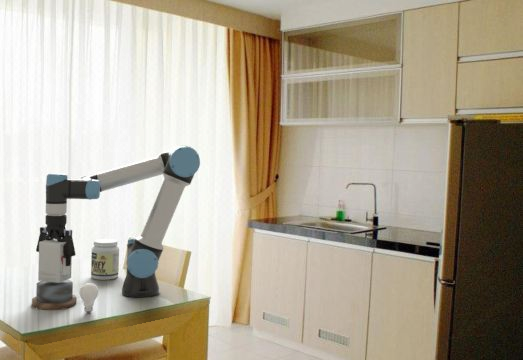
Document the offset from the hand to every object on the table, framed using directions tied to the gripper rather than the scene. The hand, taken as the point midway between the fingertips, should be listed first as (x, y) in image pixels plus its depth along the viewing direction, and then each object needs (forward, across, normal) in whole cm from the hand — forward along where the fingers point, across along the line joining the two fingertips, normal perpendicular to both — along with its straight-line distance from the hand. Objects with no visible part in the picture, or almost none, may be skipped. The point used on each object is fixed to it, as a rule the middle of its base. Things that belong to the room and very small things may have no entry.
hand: (55, 272), depth 218 cm
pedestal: (+12, 0, 0) cm, 12 cm away
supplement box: (+3, 0, 0) cm, 3 cm away
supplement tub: (+12, +11, -43) cm, 46 cm away
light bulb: (+12, -18, +2) cm, 22 cm away
